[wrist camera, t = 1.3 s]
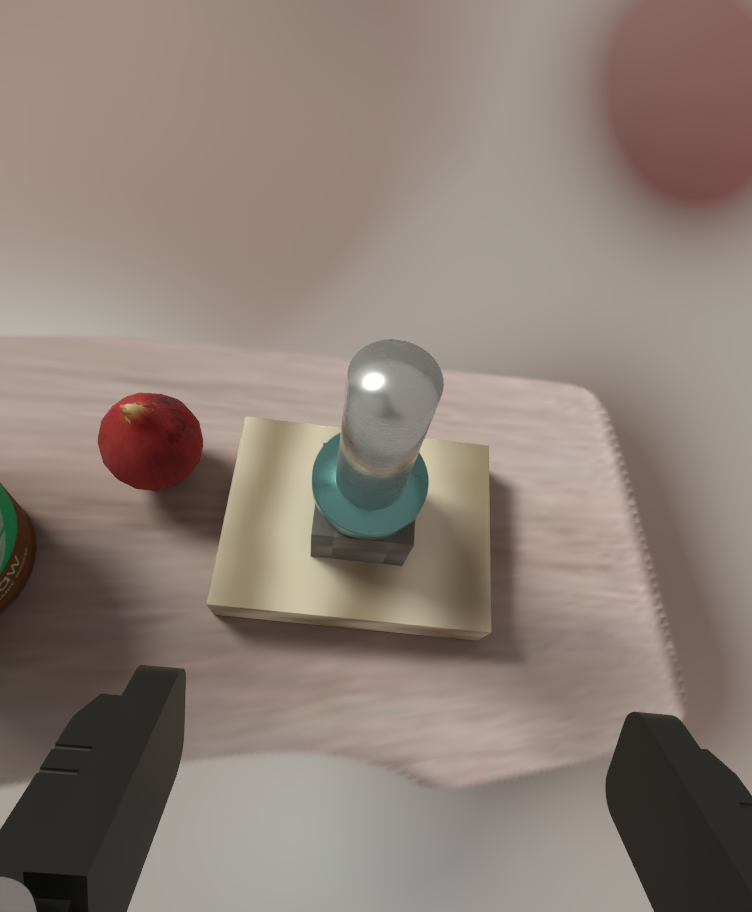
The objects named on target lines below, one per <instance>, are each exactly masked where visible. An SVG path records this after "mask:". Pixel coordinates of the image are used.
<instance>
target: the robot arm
mask: <svg viewBox="0 0 752 912" xmlns="http://www.w3.org/2000/svg"><path fill="white" fill-rule="evenodd" d="M185 688H186V673H185V670H184V669H180V668H169V667H158V666H147V665H140V666H139V667H138V668H137V670H136V671H135V673H134V675H133V676H132V678H131V680H130V682H129V683H128V685H127V687H126V689H125V691H124V692H123V694H122V696H118V695H107V694H100V695H99V696H98V697H97V698H95V699H94V700H93V701H92V702H90V703H89V704H88V705H87V706H85V707H84V708H83V709H82V710H80V711H79V712H78V713H76V714H75V715H74V716H73V717H72V719H71V720H70V722H69V724H68V725H67V727H66V728H65V730H64V731H63V733H62V734H61V736H60V738H59V739H58V741H57V742H56V745H55V748H54V749H52V750H51V752H50V753H49V755H48V756H47V758H46V759H45V761H44V762H43V764H42V765H41V767H40V771H39V773H36V775H35V776H34V778H33V779H32V781H31V783H30V784H29V786H28V787H27V789H26V790H25V792H24V793H23V795H22V797H21V798H20V800H19V801H18V803H17V804H16V806H15V807H14V809H13V811H12V812H11V814H10V815H9V817H8V818H7V820H6V822H5V823H4V825H3V826H2V828H1V829H0V912H127V909H128V906H129V904H130V901H131V898H132V895H133V893H134V890H135V887H136V884H137V882H138V879H139V876H140V874H141V871H142V868H143V865H144V863H145V860H146V857H147V854H148V852H149V849H150V846H151V844H152V841H153V837H154V835H155V832H156V830H157V827H158V824H159V822H160V819H161V816H162V814H163V811H164V808H165V805H166V803H167V800H168V797H169V794H170V792H171V789H172V786H173V784H174V781H175V778H176V775H177V772H178V768H179V764H180V760H181V755H182V749H183V742H184V720H185ZM606 799H607V804H608V808H609V812H610V814H611V817H612V819H613V821H614V823H615V826H616V828H617V830H618V832H619V834H620V837H621V839H622V841H623V843H624V845H625V848H626V850H627V852H628V855H629V857H630V859H631V861H632V863H633V866H634V868H635V870H636V872H637V874H638V877H639V879H640V881H641V883H642V886H643V888H644V890H645V892H646V894H647V897H648V899H649V901H650V903H651V906H652V908H653V910H654V912H752V796H751V794H750V793H749V791H748V790H747V789H746V787H745V786H744V784H743V783H742V782H741V780H740V779H739V778H738V776H737V775H736V774H735V773H734V772H732V771H731V770H730V769H729V768H728V767H727V766H726V765H725V764H723V763H722V762H721V761H720V760H719V759H718V758H717V757H715V756H714V755H713V754H712V753H711V752H710V751H709V750H707V749H701V748H700V747H699V746H698V744H697V743H696V741H695V740H694V738H693V737H692V736H691V734H690V733H689V731H688V730H687V728H686V727H685V726H684V724H683V723H682V722H681V720H679V719H678V718H677V717H675V716H672V715H662V714H651V713H641V712H631V713H630V714H628V716H627V717H626V719H625V721H624V724H623V727H622V730H621V733H620V736H619V739H618V743H617V746H616V749H615V752H614V755H613V758H612V761H611V764H610V767H609V770H608V773H607V777H606Z"/></svg>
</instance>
